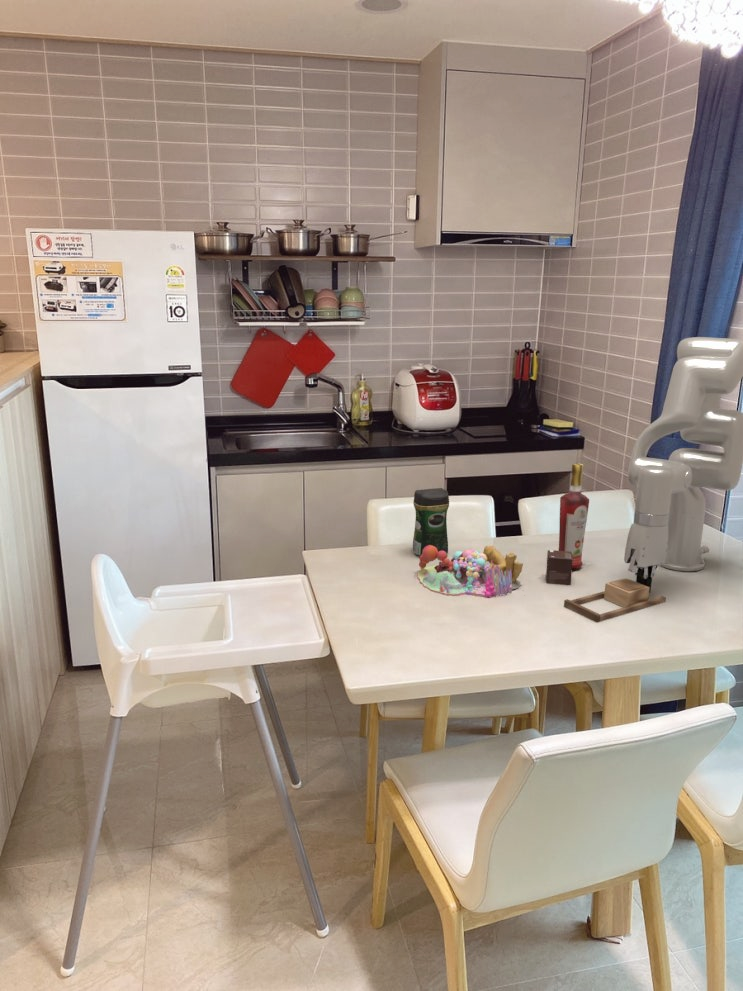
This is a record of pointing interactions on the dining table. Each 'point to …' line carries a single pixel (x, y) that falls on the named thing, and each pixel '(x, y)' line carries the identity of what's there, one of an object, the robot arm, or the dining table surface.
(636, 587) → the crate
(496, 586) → the pastel sphere sculpture
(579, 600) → the bay
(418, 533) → the coffee jar
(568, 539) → the liquor
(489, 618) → the dining table surface
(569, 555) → the box
